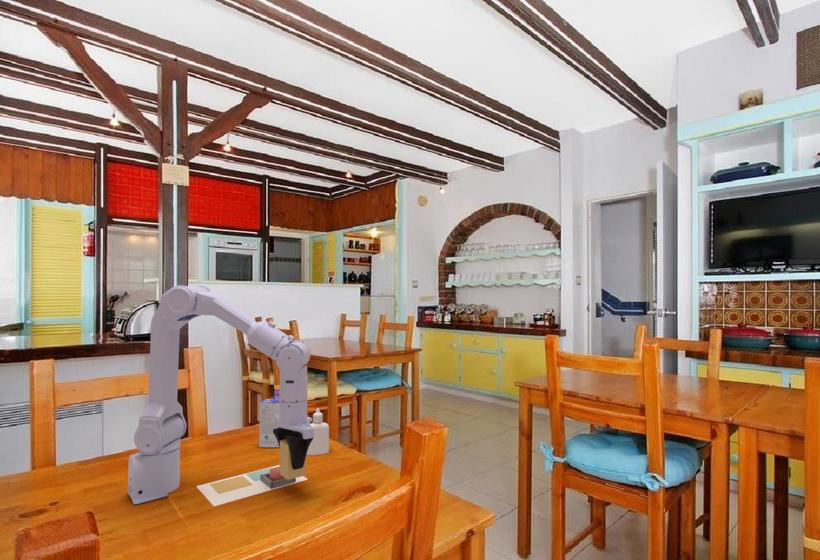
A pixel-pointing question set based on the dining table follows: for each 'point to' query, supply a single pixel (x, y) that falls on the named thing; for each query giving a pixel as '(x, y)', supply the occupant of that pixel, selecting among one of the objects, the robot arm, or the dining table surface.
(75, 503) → the dining table surface
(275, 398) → the ink cartridge box
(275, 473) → the button
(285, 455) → the ochre block
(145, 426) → the robot arm
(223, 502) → the white board with squares
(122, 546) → the dining table surface
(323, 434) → the eye dropper bottle
